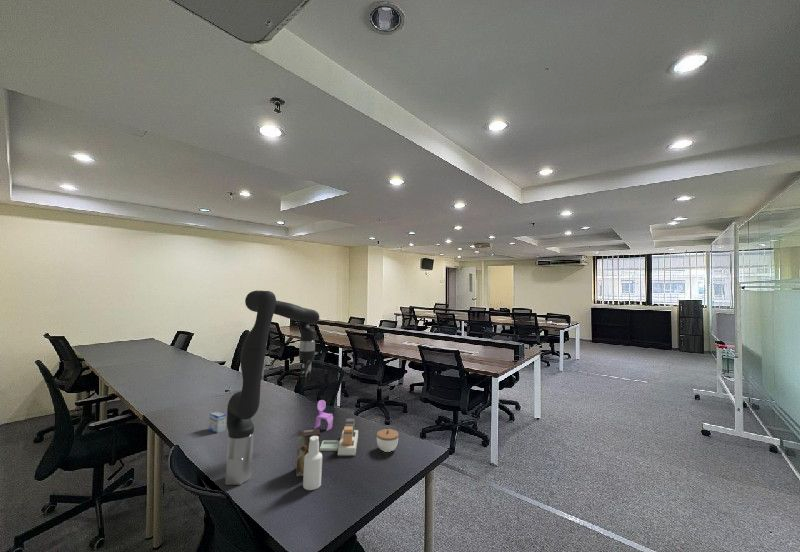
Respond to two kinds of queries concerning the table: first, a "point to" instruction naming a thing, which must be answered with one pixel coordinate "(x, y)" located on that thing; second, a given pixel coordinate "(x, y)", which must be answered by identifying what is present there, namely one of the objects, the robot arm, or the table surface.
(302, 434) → the coffee box
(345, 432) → the plug
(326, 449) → the tray
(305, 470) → the white bottle
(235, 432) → the robot arm
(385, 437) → the lidded jar
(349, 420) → the white slotted holder
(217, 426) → the medicine box
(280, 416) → the table surface
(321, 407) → the toy chair
